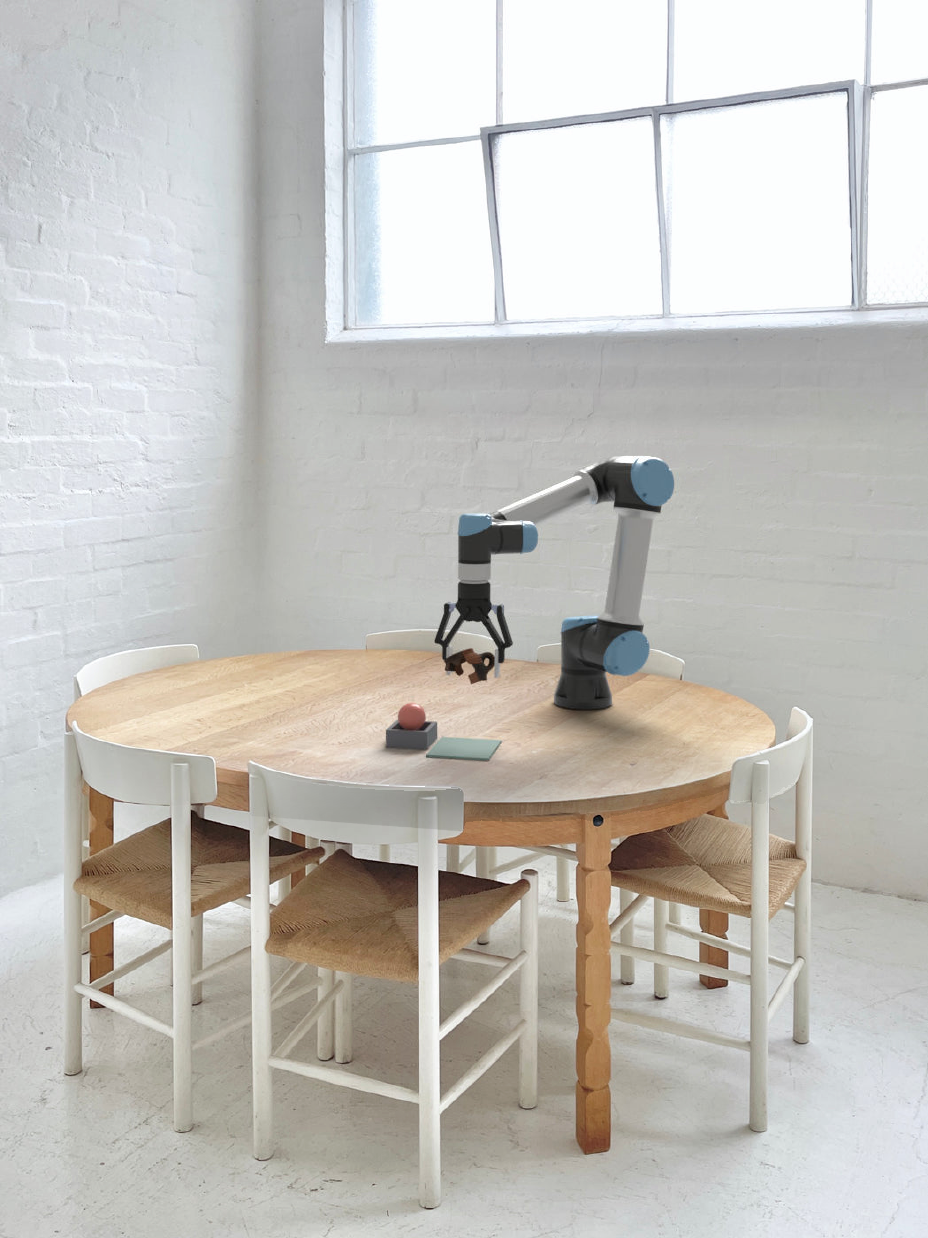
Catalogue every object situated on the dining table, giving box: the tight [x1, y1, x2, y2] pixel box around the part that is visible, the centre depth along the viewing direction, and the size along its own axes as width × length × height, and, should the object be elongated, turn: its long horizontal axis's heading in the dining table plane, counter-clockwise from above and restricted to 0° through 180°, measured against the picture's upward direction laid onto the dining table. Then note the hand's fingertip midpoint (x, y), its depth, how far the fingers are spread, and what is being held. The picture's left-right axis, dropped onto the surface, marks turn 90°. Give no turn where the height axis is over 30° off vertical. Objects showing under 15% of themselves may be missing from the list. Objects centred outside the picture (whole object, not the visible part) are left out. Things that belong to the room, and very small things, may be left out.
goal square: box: [425, 736, 502, 761], centre depth 258 cm, size 14×15×1 cm
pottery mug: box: [443, 647, 495, 685], centre depth 264 cm, size 12×10×8 cm
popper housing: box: [385, 718, 438, 750], centre depth 263 cm, size 10×10×4 cm
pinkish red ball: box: [397, 702, 427, 730], centre depth 263 cm, size 6×6×6 cm
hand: (473, 675), depth 267 cm, fingers closed on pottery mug, 11 cm apart
